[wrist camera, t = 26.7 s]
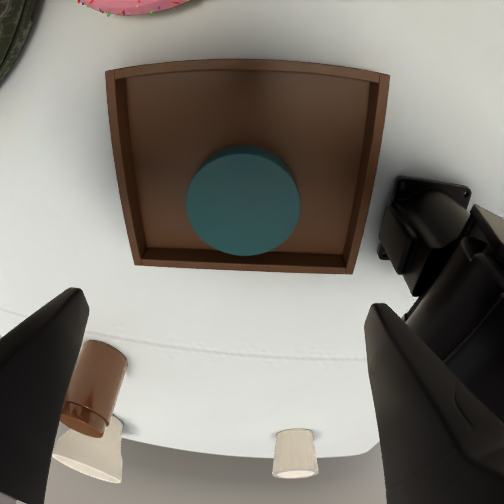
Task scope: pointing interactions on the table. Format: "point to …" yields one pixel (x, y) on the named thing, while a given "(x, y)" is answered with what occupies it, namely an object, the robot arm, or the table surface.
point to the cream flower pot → (93, 452)
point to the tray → (247, 133)
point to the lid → (243, 200)
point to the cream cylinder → (294, 454)
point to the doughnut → (131, 6)
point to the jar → (94, 389)
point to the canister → (13, 30)
